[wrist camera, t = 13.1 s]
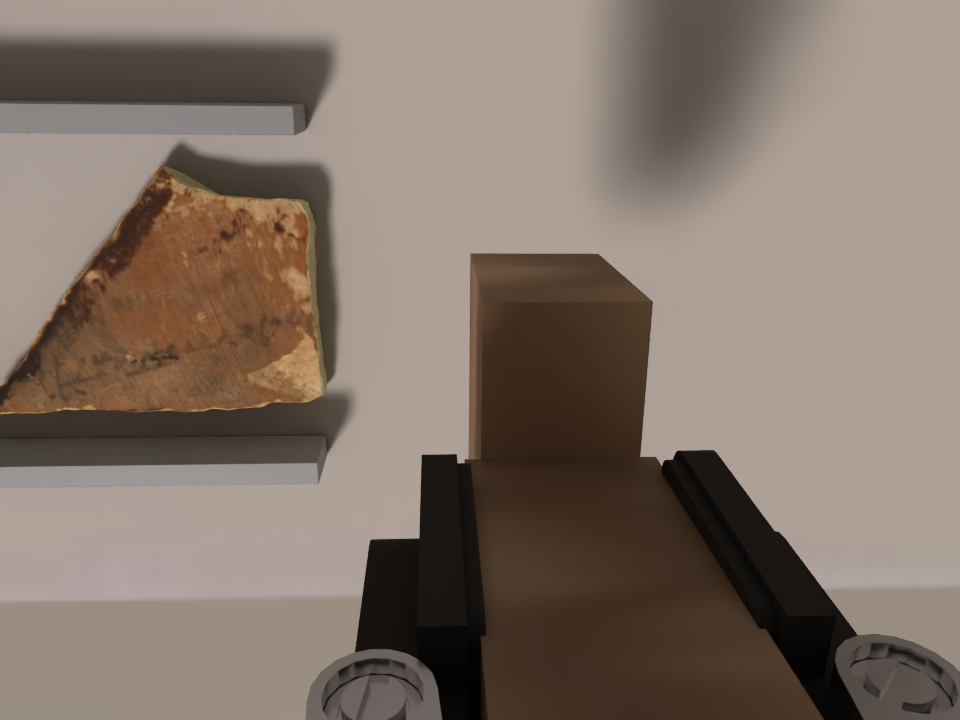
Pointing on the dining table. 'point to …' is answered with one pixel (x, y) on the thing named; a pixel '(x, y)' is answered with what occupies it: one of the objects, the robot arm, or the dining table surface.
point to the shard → (184, 311)
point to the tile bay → (157, 455)
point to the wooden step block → (593, 519)
